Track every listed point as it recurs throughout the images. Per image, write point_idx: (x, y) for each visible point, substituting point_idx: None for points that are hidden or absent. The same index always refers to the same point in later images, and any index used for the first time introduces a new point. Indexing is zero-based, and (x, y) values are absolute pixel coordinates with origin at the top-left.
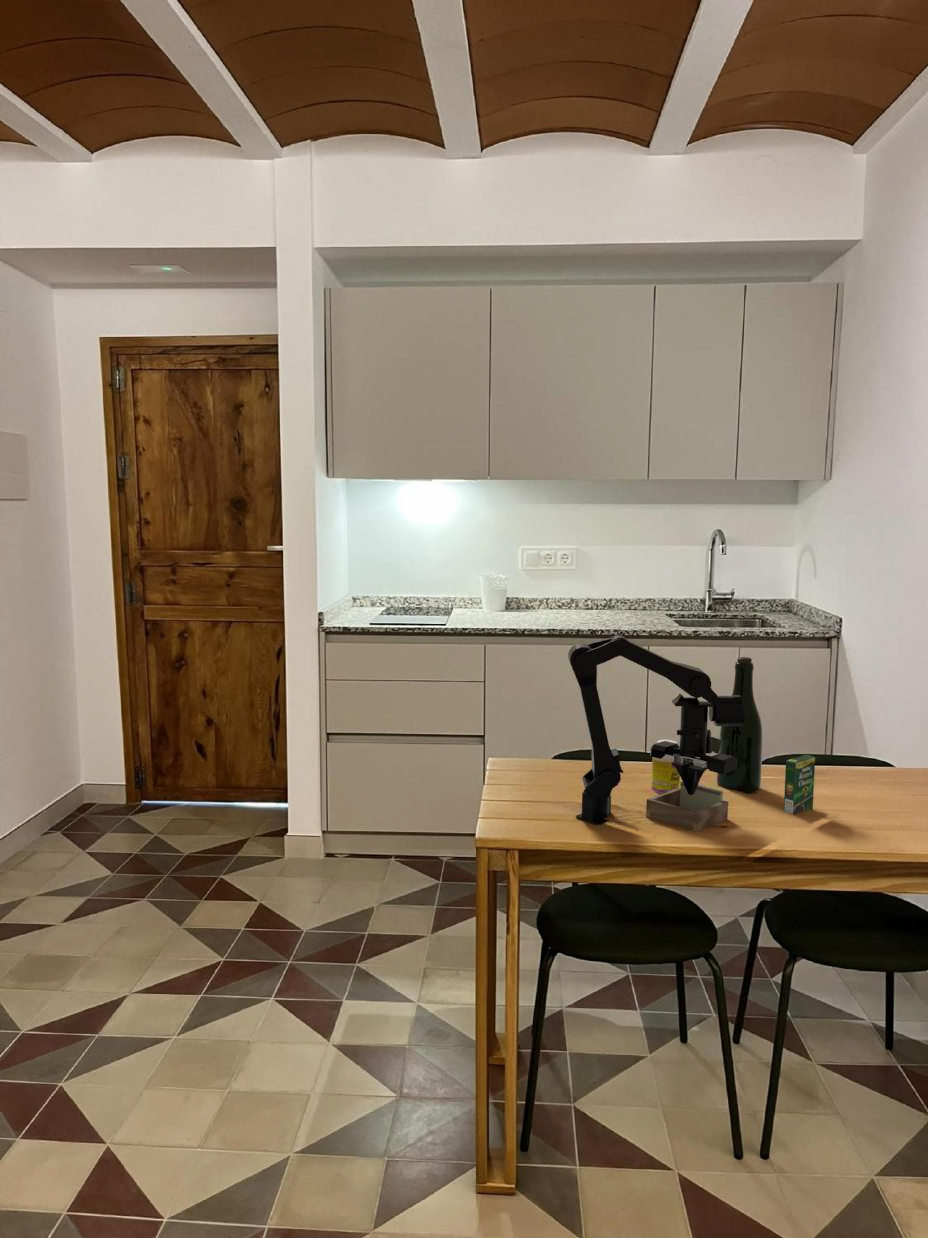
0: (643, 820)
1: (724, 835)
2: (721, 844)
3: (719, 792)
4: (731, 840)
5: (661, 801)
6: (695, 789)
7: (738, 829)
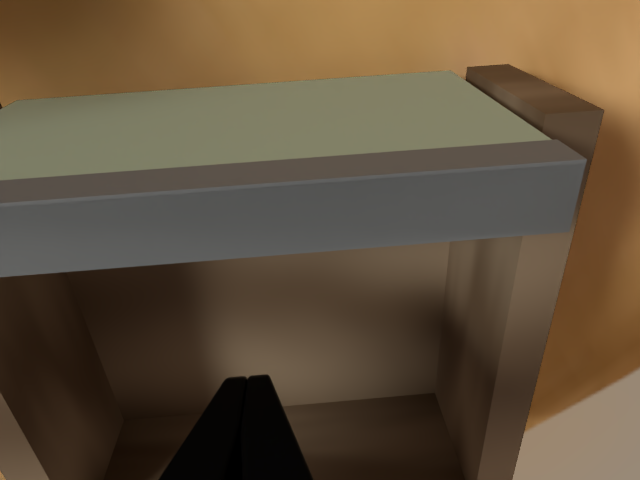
0: None
1: (565, 268)
2: (597, 373)
3: (551, 228)
4: (628, 298)
5: (61, 424)
6: (287, 424)
7: (612, 101)
